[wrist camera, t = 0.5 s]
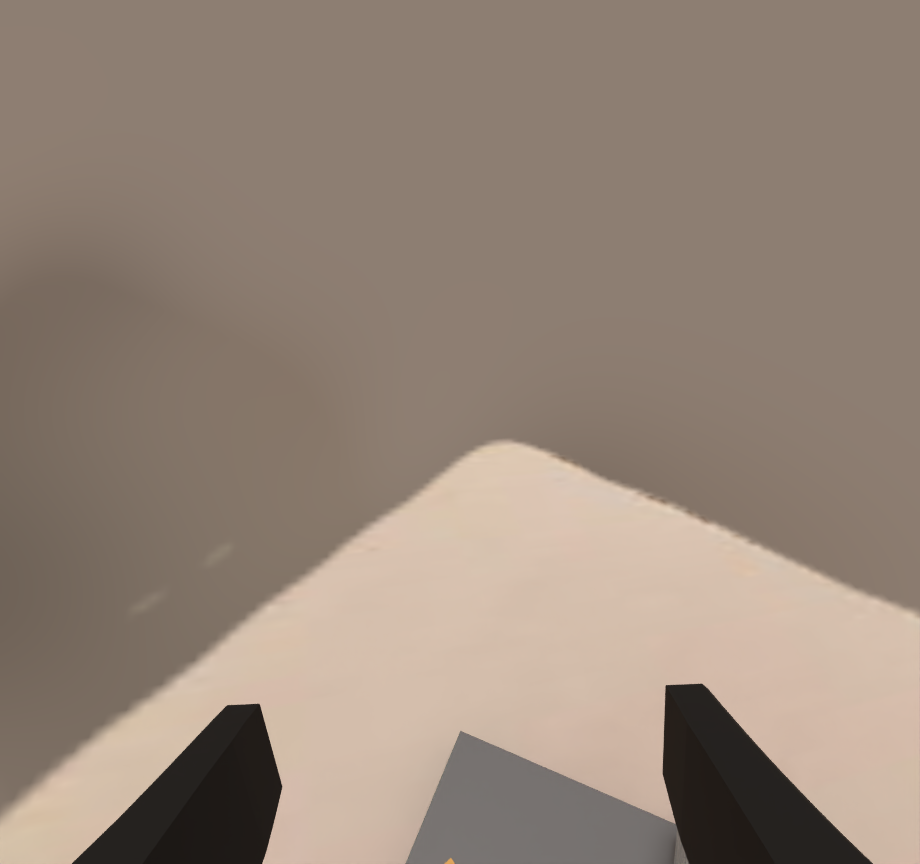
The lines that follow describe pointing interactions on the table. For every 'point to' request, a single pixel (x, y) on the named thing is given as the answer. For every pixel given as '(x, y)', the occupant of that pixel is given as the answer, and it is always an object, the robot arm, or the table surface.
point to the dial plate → (531, 817)
